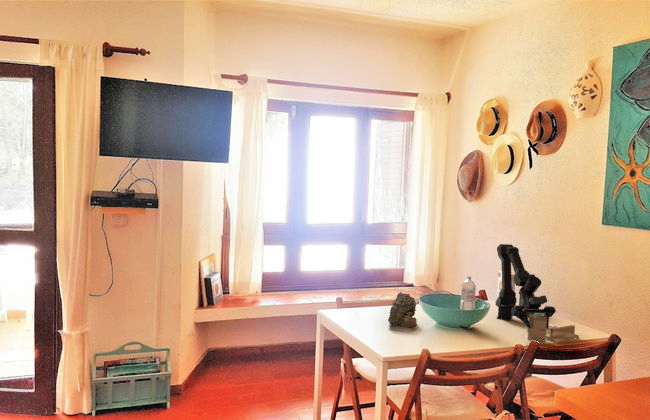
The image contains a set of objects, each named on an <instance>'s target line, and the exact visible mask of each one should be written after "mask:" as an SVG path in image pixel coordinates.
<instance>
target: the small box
mask: <svg viewBox="0 0 650 420" xmlns="http://www.w3.org/2000/svg"><path fill="white" fill-rule="evenodd" d="M518 300H519V301H518V305H519V306H524V305H523V304H522V302H523V299H522V296H521V294H519V299H518ZM524 309H525V306H524ZM529 314H534V313H527V317H528V318H529Z"/></svg>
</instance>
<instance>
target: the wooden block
mask: <svg viewBox="0 0 650 420" xmlns="http://www.w3.org/2000/svg"><path fill="white" fill-rule="evenodd" d="M528 320H529V323H530V328H528V327H527V329H528V332H527V340H528V341H529V342H530V341H531V340H536V341H538V342H539V343H540V344H539V345H545V344H546V341H547V339H546V325H547V317H545V316H543V315H542V313H534V314H529V317H528Z"/></svg>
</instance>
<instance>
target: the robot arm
mask: <svg viewBox="0 0 650 420" xmlns="http://www.w3.org/2000/svg"><path fill="white" fill-rule="evenodd" d="M496 252H497V256H498V258H499V259H500V262H501V270H502V289H501V291H500V292H499V297H498V298H497V297H496V299H495V306H496V307H498V308H497V311H498V312H497V317H496V319H499V320H504V321H511V320H512V319H513V318H514V317H515V318H517V319H519V320H520V321H521V322H522V323H523V324H524V325H525V326H526V327H527V329H528V328H530V323H529V317H527V313H542V315H543V316H545V317H547V325H546V328H547V329H548V327H549V326H550V325H549V324H550V322H549V321H550V318H552V317H553V315H554V314H556V312H557V310H556V308H555V307H554V306H551V305H550V306H549V305H547V306H544V307H543V308H541V307H542V305H544V304H546V303H547V302H548V298H547V296H546V295H540V296H536V295H535V293H536V292H537V291H538V289H539V288H540V286H541V285H542V280H541V279H540V278H539V277H537V276H536V275H535V273H534V274H533V273H532V274H530V272H528V271H527V270H526V269H525V266H524V264H523V261H522V258H521V255H520V251H519V248H518V247H517V246H513V244H511V243H510V244H509V243H508V244H506V243H500V244H499V245H497V247H496ZM512 269H513V272H514V274H515V275H514V283H515V287H516V286H517V287H520V288H519V290H518V291H519V292H518V295H520V294H521V296H522V299H523V302H522V304H523V305H524V306H525V309H524V306H519V304H518V305H517V292H514V291H513V289H512V277H511V272H512ZM512 308H513V309H512Z"/></svg>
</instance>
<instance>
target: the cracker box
mask: <svg viewBox="0 0 650 420" xmlns="http://www.w3.org/2000/svg"><path fill="white" fill-rule="evenodd" d="M497 274H498V277H497V295H496V299H497V298H498V297H499V292H500V291H501V289H502V269H498V273H497ZM514 275H515V273H513V272H512V271H511V277H512V289H513V291H514V292H515V290H516V288H515V287H516V284H515V283H514ZM515 293H516V292H515ZM512 309H513V308H512Z"/></svg>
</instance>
